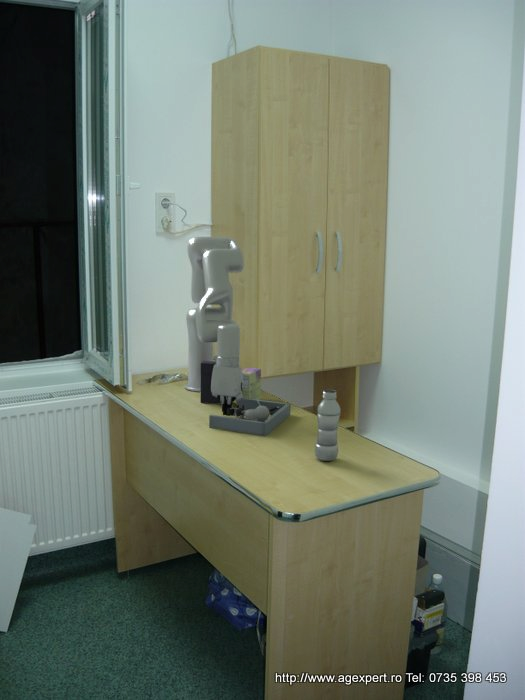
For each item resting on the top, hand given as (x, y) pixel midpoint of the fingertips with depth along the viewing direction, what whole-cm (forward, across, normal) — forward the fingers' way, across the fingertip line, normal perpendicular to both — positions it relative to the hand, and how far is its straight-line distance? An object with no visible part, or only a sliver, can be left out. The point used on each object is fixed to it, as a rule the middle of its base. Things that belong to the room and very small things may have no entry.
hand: (226, 414), depth 227 cm
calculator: (+1, -11, +15) cm, 19 cm away
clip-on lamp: (+1, +9, +3) cm, 9 cm away
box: (+1, -1, +21) cm, 21 cm away
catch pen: (+1, +8, 0) cm, 8 cm away
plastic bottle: (+1, +41, -24) cm, 48 cm away
